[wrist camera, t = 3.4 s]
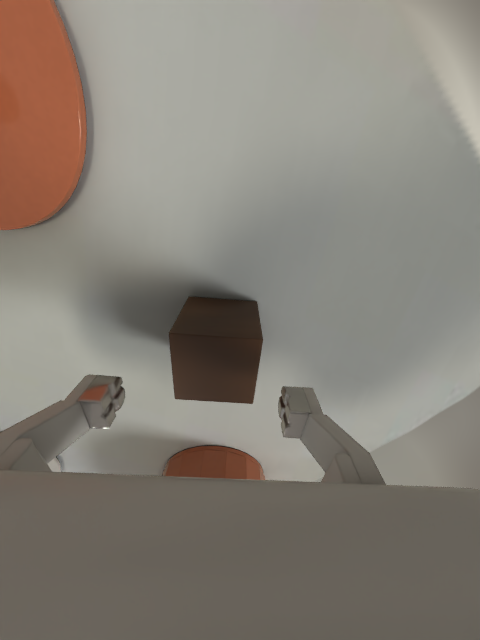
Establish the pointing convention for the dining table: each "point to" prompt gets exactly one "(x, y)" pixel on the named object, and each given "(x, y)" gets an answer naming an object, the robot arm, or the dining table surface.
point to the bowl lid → (37, 114)
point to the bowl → (214, 464)
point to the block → (216, 350)
